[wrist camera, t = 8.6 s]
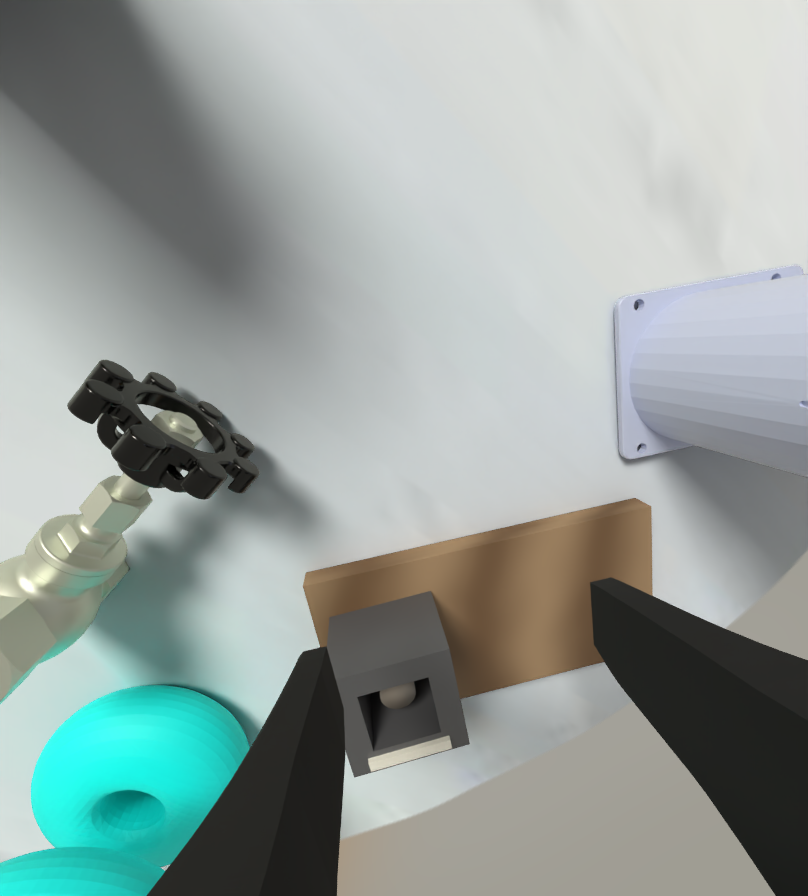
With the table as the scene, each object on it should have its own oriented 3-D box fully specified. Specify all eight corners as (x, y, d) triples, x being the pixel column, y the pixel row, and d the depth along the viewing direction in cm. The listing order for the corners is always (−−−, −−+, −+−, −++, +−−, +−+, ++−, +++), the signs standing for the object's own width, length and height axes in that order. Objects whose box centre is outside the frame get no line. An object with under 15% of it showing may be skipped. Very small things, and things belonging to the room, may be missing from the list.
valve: (124, 629, 20) (275, 452, 19) (17, 761, 13) (236, 506, 12) (-7, 555, 18) (150, 356, 17) (-200, 667, 12) (28, 361, 11)
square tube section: (430, 590, 20) (450, 652, 16) (448, 672, 21) (471, 748, 17) (329, 617, 20) (323, 687, 16) (354, 698, 21) (354, 782, 17)
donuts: (-258, 1130, 11) (-81, 911, 10) (22, 771, 21) (129, 639, 20) (76, 1179, 14) (247, 1008, 13) (190, 839, 23) (292, 724, 22)
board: (635, 497, 22) (700, 532, 17) (638, 634, 24) (696, 692, 20) (305, 572, 20) (294, 629, 16) (343, 709, 23) (342, 788, 18)
